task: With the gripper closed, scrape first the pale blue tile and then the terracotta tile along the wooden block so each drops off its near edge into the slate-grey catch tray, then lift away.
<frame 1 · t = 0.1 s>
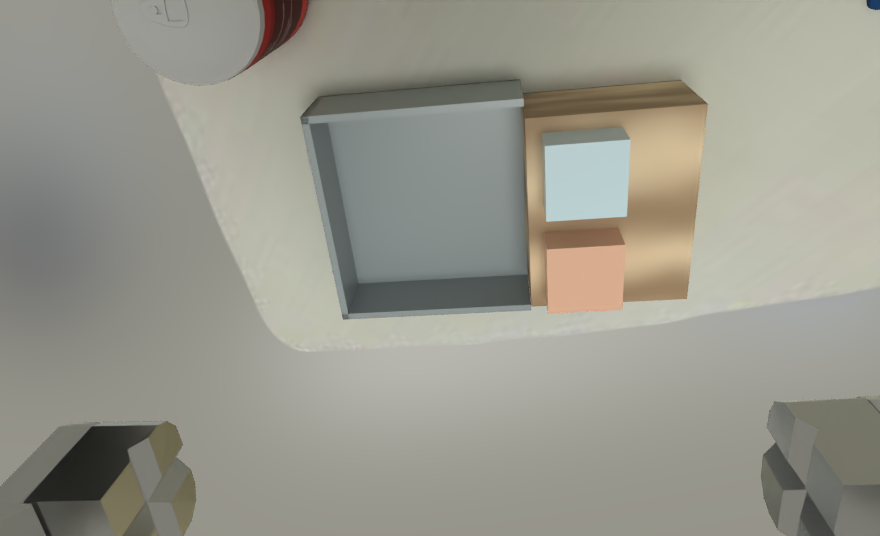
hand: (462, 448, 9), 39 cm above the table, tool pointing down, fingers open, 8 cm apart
wooden block: (597, 180, 48), on the table
tile blue: (581, 167, 41), point 6 cm above the table, touching wooden block
tray: (429, 192, 49), on the table
tile terracotta: (580, 262, 44), point 6 cm above the table, touching wooden block
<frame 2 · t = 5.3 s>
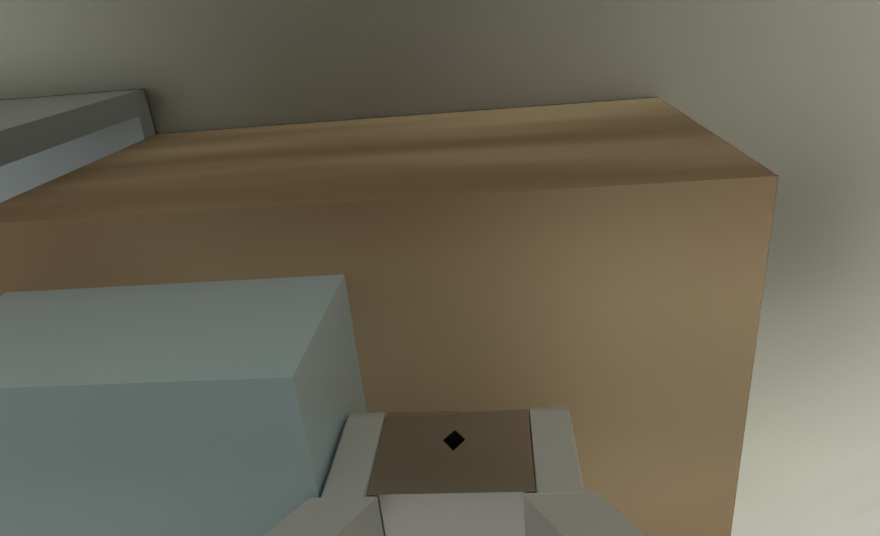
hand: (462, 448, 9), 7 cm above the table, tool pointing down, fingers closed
wooden block: (426, 387, 16), on the table
tile blue: (211, 428, 10), point 6 cm above the table, touching wooden block, gripper
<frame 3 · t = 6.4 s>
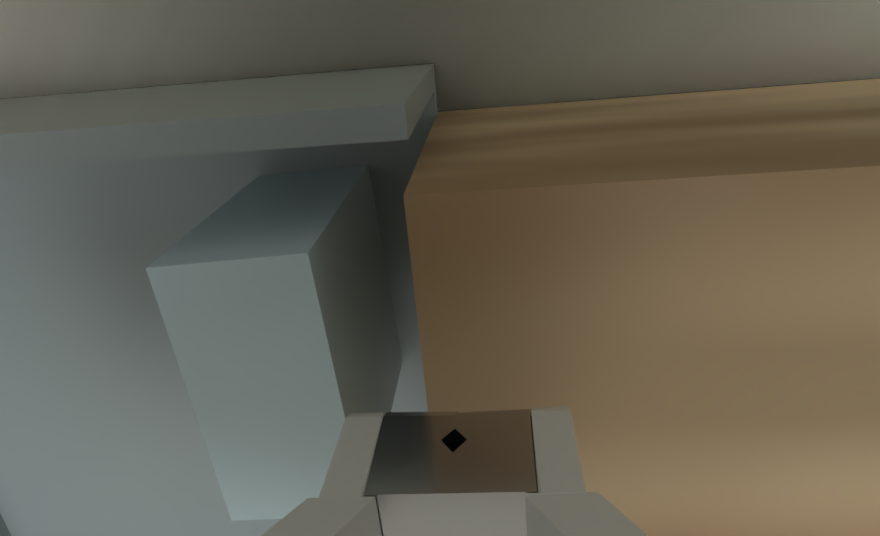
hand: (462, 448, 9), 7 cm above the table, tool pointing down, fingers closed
wooden block: (680, 377, 16), on the table
tile blue: (367, 321, 12), point 3 cm above the table, tilted 90°, touching tray
tray: (194, 393, 17), on the table
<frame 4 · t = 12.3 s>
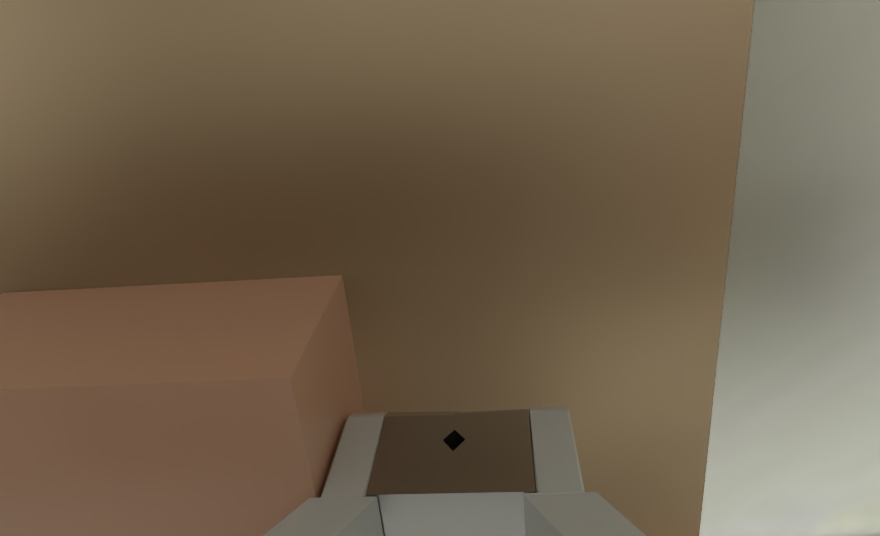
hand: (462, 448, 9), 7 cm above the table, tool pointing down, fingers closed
wooden block: (374, 119, 14), on the table
tile terracotta: (209, 428, 10), point 6 cm above the table, touching wooden block, gripper
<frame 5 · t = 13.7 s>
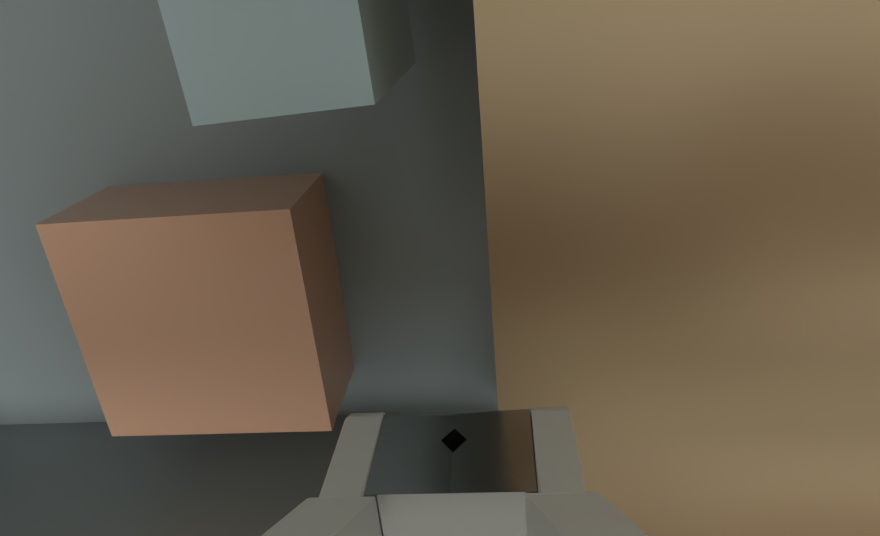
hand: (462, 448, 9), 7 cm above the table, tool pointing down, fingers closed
wooden block: (755, 86, 13), on the table
tray: (164, 131, 14), on the table
tile terracotta: (192, 333, 13), point 3 cm above the table, tilted 180°, touching tray
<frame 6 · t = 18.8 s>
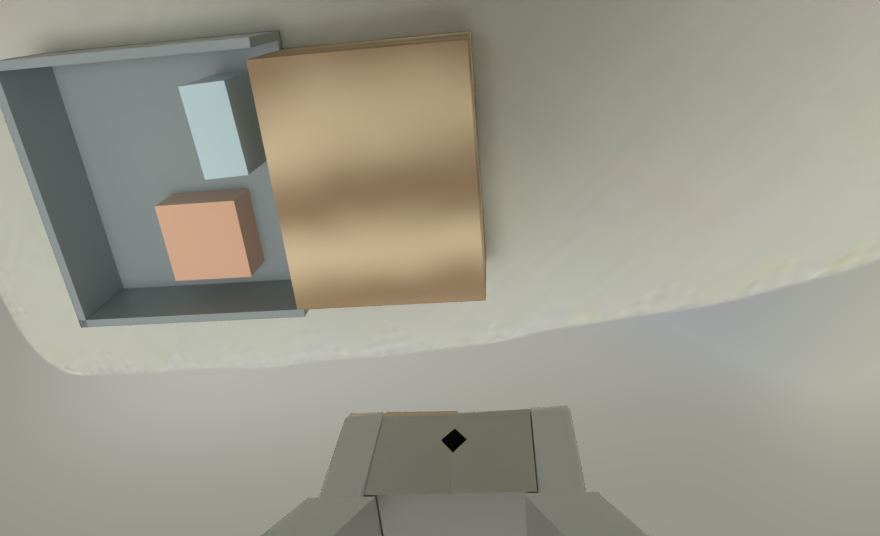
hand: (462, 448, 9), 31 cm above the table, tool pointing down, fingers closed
wooden block: (389, 159, 39), on the table
tile blue: (252, 119, 36), point 3 cm above the table, tilted 90°, touching tray
tray: (193, 174, 40), on the table
tile terracotta: (203, 242, 39), point 3 cm above the table, tilted 180°, touching tray
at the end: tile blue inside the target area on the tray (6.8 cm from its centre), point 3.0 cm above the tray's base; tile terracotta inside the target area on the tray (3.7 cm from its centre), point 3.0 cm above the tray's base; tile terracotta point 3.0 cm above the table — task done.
